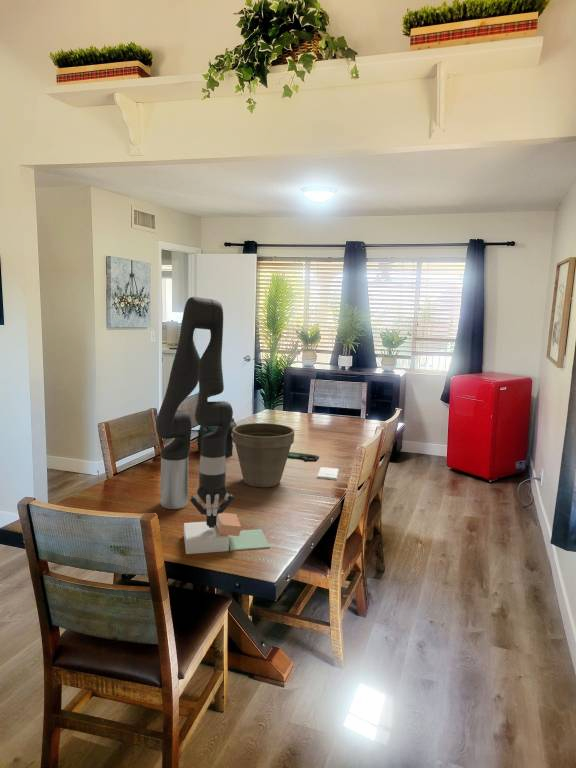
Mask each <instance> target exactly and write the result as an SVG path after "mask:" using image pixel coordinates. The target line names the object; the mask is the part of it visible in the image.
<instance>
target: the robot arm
mask: <svg viewBox="0 0 576 768" xmlns="http://www.w3.org/2000/svg"><path fill="white" fill-rule="evenodd" d="M223 308H224V307H223V305H222V303H221V302H220V301H219V300H217V299H213V298H212V299H211V298H204V297H197V296H191V297H189V298H188V299H187V300H186V302H185V304H184V308H183V314H182V318H181V319H182V320H181V325H180V332H179V337H178V343H177V346H176V351H175V354H174V358H173V362H172V365H171V369H170V374H169V379H168V383H167V387H166V391H165V394H164V398H163V400H162V404H161V406H160V409H159V411H158V414H157V417H156V423H155V429H156V434H157V436H158V437H159V438H161V439H164V440H165V439H166V440H167V439H168V440H169V439H173V440H172V441H171V442H170V443H169V444H167V445H165V446H163V447H162V448H161V451H160V506H161V507H162V508H163V509H166V510H180V509H183V508H186V507H187V506H188V501H189V499H188V497H189V455H190V450H191V439H192V438H191V437H192V418H191V415H190V413H189V412H188V411H187V410H185V409H180V410H179V407H180V405H181V404H182V403H183V402H184V400H186V399H187V398H188V397H189V395H191V393H193V391H195V389H196V387H197V386H198V389H199V390H198V397H197V399H198V400H197V404H196V406H195V407H196V408H195V411H194V419H195V422H196V423H197V425H198V426H199V427H200V426H202V427H209V426H218V428H217V429H216V430H215V431H214V432H211V433H208V434H205V435H203V436H202V438H201V451H200V456H199V468H198V469H199V474H198V481H199V482H198V489H197V490H196V491H197V492H196V493H195V494H194V495H190V497H189V498H190V502H191V503H192V505H193V506H194V507H195V509H197V511H198V512H199V513H200V514H201V515H205V516H206V521H205V522H206V523H207V526H209V528H214V526H216V522H217V514H219V513H225V510H226V509H227V508H228V507H229V506H230V504H231V503H232V502H233V501H234V496H233V494H232V493H230V492H228V490H227V488H226V471H227V460H226V456H225V445H226V437H227V433H228V430H229V426H230V423H231V420H232V418H233V414H234V411H233V407H232V405H231V404H230V403H229V402H228V401H225V400H224V401H222V400H220V401H219V400H218V401H208V398H210V397H213V396H214V397H215V396H218V395H220V394H222V393H223V392H224V389H225V388H224V387H225V385H224V373H223V364H222V363H223V361H222V357H223V356H222V355H223V352H222V351H223V335H224V334H223V333H224V309H223ZM196 329H200V330H209V331H210V337H209V342H208V345H207V347H206V348H205V350H204V352H203V353H202V355H201V357H200V354H199V352H198V350H197V348H196V345H195V341H194V332H195V330H196ZM223 499H224V500H223ZM200 500H201V501H202V502H203V504H205V507H204V506H203V504H201V502H200ZM222 500H223V501H222ZM219 504H220V505H219Z"/></svg>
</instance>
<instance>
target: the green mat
mask: <svg viewBox="0 0 576 768" xmlns="http://www.w3.org/2000/svg"><path fill="white" fill-rule="evenodd" d="M228 536H229V551H230V552H233V551H245V550H246V551H247V550H262V549H270V544H269V542H268V540H267V538H266V536H265V534H264V531H263V529H261V528H259V529H258V528H257V529H243V530H240V535H239V536H230V535H228Z"/></svg>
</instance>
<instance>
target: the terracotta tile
mask: <svg viewBox="0 0 576 768" xmlns="http://www.w3.org/2000/svg"><path fill="white" fill-rule="evenodd" d="M216 526H217V530H218V533H219V534H220V535H230V536H239V535H240V531H241V529H242V525H241V523H240V519H239V517H238V515H237V514H236V513H231V512H230V513H228V512H223V513H219V514H217V522H216Z"/></svg>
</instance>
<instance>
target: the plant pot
mask: <svg viewBox="0 0 576 768" xmlns="http://www.w3.org/2000/svg"><path fill="white" fill-rule="evenodd" d="M232 439H233V443H234V445H235V450H236V454H237V459H238V462H239V466H240V471H241V474H242V475H241V477H242V479H243V482H244V483H245V484H247V485H248V486H251V487H256V488H270V487H274V486H277V485H279V484H280V482H281V480H282V478H283V473H284V470H285V468H286V463H287V460H288V458H287V457H288V454H289V452H291V451H290V449H291V446H292V445H293V444H294V441H295V429H294V428H292V427H291V426H287V425H283V424H278V423H270V422H269V423H268V422H256V423H255V422H254V423H252V422H250V423H242V424H239V425H237V426H235V427H234V428H233V429H232Z"/></svg>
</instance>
